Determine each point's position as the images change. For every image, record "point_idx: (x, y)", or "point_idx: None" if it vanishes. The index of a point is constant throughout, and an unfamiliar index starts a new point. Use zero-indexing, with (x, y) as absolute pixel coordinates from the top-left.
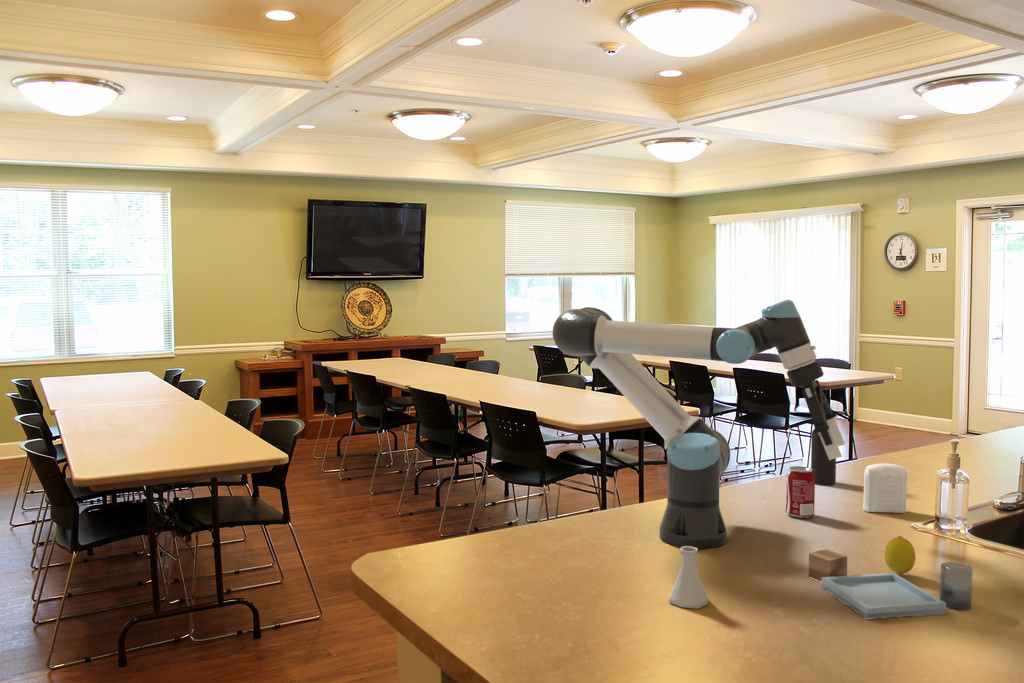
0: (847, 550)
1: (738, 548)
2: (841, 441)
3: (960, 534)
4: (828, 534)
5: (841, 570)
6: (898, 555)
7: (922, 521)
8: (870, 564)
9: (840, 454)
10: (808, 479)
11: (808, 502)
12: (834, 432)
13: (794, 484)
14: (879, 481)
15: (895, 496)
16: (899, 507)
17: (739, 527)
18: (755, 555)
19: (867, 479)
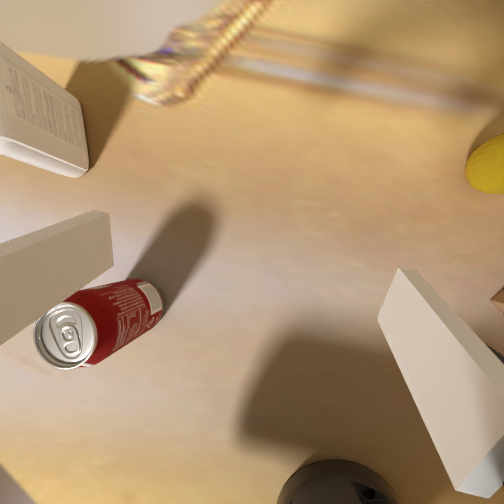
0: (346, 244)
1: (380, 441)
2: (97, 228)
3: (196, 23)
4: (253, 265)
5: None
6: None
7: (126, 78)
8: (421, 215)
9: (421, 277)
10: (112, 311)
11: (145, 298)
12: (52, 268)
13: (122, 342)
14: (30, 121)
15: (56, 102)
16: (74, 106)
17: (245, 427)
18: (416, 414)
19: (23, 148)
